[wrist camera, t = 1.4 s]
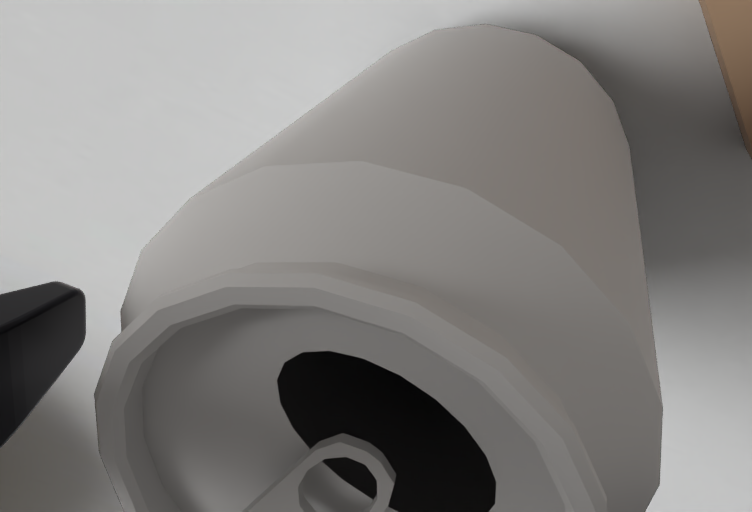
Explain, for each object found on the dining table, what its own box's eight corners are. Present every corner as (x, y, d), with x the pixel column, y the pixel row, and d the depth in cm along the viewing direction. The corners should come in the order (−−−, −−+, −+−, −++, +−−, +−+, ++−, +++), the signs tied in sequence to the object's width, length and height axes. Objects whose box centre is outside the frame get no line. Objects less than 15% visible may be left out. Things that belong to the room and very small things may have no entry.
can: (699, 155, 16) (874, 598, 6) (493, 334, 20) (386, 784, 10) (460, -51, 15) (195, 44, 5) (297, 174, 19) (-34, 478, 9)
